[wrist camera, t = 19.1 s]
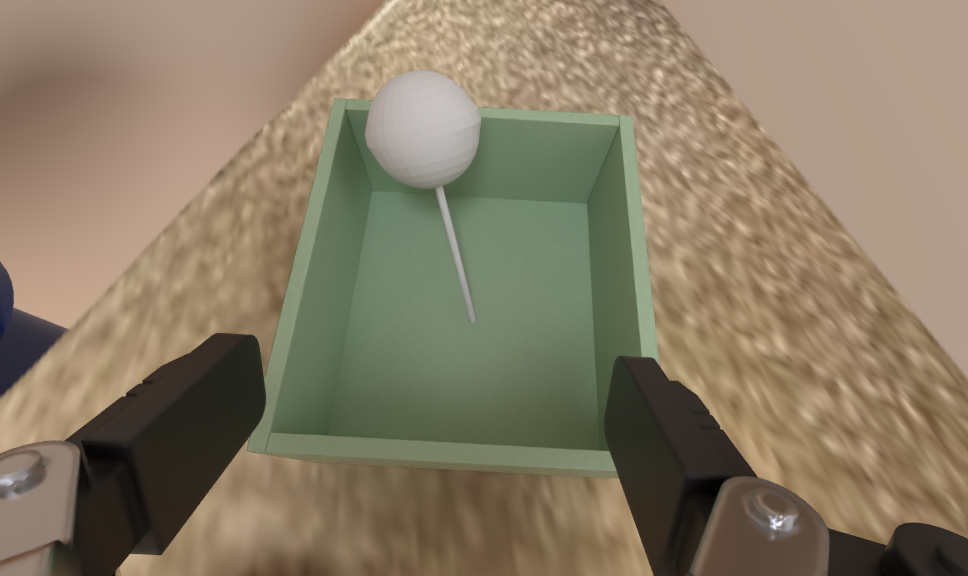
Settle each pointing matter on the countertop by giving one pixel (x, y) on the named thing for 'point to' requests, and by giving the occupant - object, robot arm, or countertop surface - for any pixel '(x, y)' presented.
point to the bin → (441, 308)
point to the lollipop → (426, 140)
